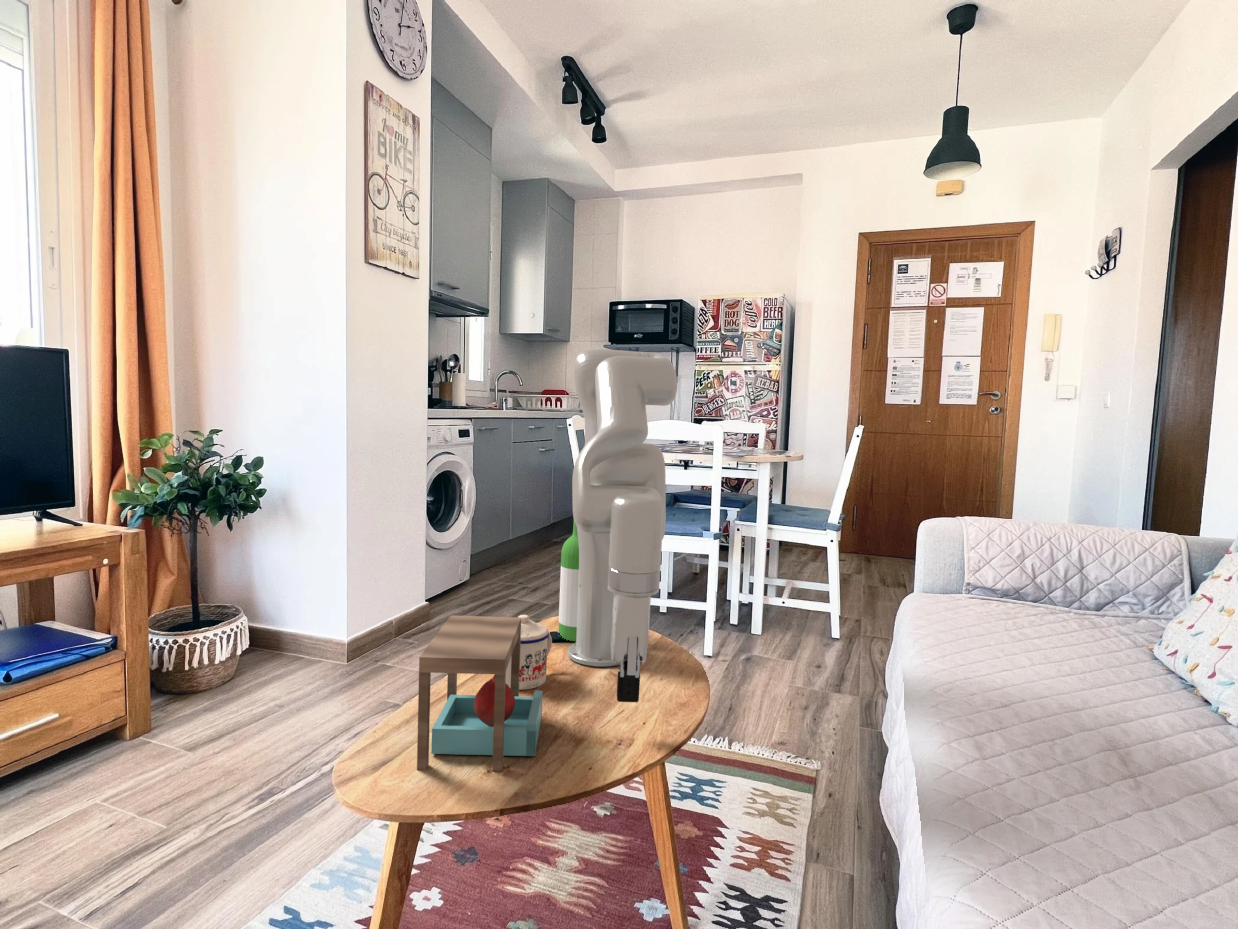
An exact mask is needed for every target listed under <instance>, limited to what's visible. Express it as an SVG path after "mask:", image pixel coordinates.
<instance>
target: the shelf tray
mask: <svg viewBox="0 0 1238 929" xmlns="http://www.w3.org/2000/svg"><path fill="white" fill-rule="evenodd" d="M475 697H476V694H474V695H473V694H471V695H470V694H457V695H450V696H449V698H448V700H447V699H446V702H445V704H444V705H443V708H442V709H441V712H440V713H439V715H438V717H437V718H436V721H435V723H434V725H433V726H432V728H431V754H432V755H434V754H435V755H469V756H470V755H472V756H473V755H475V756H476V755H477V756H493V734H494V727H489V726H487V725H486V724H484V723H483V722H482V721H481V720H480V719H479V718H478V716H477V715H476V713H475V710H474V701H475ZM514 697H515V706H514V710H513V713H512V714H511V716H510V717H509V718H508V719H507V720H506V721H505V722H504V748H503V756H513V757H514V756H517V757H520V756H521V757H536V750H537V746H538V740H539V736H540V730H541V725H542V718H543V690H537V689H536V690H534V693H533V696H520V695H519V696H514Z"/></svg>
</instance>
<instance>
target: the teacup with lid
mask: <svg viewBox="0 0 1238 929" xmlns="http://www.w3.org/2000/svg"><path fill="white" fill-rule="evenodd" d="M517 617H518V618H521V643H520V674H519V691H521V690H522V691H525V690H531V689H532V690H533V689H535V688H538V687H541V686H542V685H543V684H544V683H545V682H546V680H547V666H548V664H547V663H548V662H547V658H548V656H549V654H550V652H551V649H552V644H553V639H552V636H551V634H550V632H549V630H548V628H547V627H546V626H544V625H543V624H540V623H537V622H535V621H533V620H531V619H530V616H529V615H527V614H521V615H518V616H517ZM511 657H512V656H511ZM506 684H507V685H508V686H509V687H510V689H511V658H510V661H509V664H508V667H507V669H506Z"/></svg>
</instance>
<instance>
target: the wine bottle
mask: <svg viewBox="0 0 1238 929" xmlns="http://www.w3.org/2000/svg"><path fill="white" fill-rule="evenodd" d="M572 525H573V527H572V535H571V536H570V537H568V538H567V539H566V540H565V541H564V543H563V545H562V547H561V552H560V553H561V554H560V556H561V557H560V558H561V559H560V576H559V577H560V578H559V603H558V604H559V605H558V607H559V608H558V634H559V633H560V635H561V636H562V639H563V638H564V639H563V640H565V639H566V640H565V641H568V640H569V641H570V642H576V633H577V607H578V580H579V543H578V533H577V526H576V524H575V522H574V521H573V524H572ZM560 635H559V636H560ZM561 636H560V637H561Z"/></svg>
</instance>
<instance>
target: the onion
mask: <svg viewBox="0 0 1238 929" xmlns="http://www.w3.org/2000/svg"><path fill="white" fill-rule="evenodd" d="M475 695H476V697H475V701H474V710H475V713H476V715H477V716H478V718H479V719H480V720H481V721H482V722H483V723H484V724H486V725H487V726H489V727H494V700H495V674H493V677H492V678H490V679H489V680H487V681H486V682H485V683H484V684H482V686H481V687H480V689H479V690H478V691H477V693H476V694H475ZM514 706H515V697H514V694H513V692H512V690H511V689H510V687H509V686H508V685H507V684H506V683H505V716H504V722H505V721H506V720H507V719H508V718H509V717H510V716H511V714H512V713H513V710H514Z"/></svg>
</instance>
